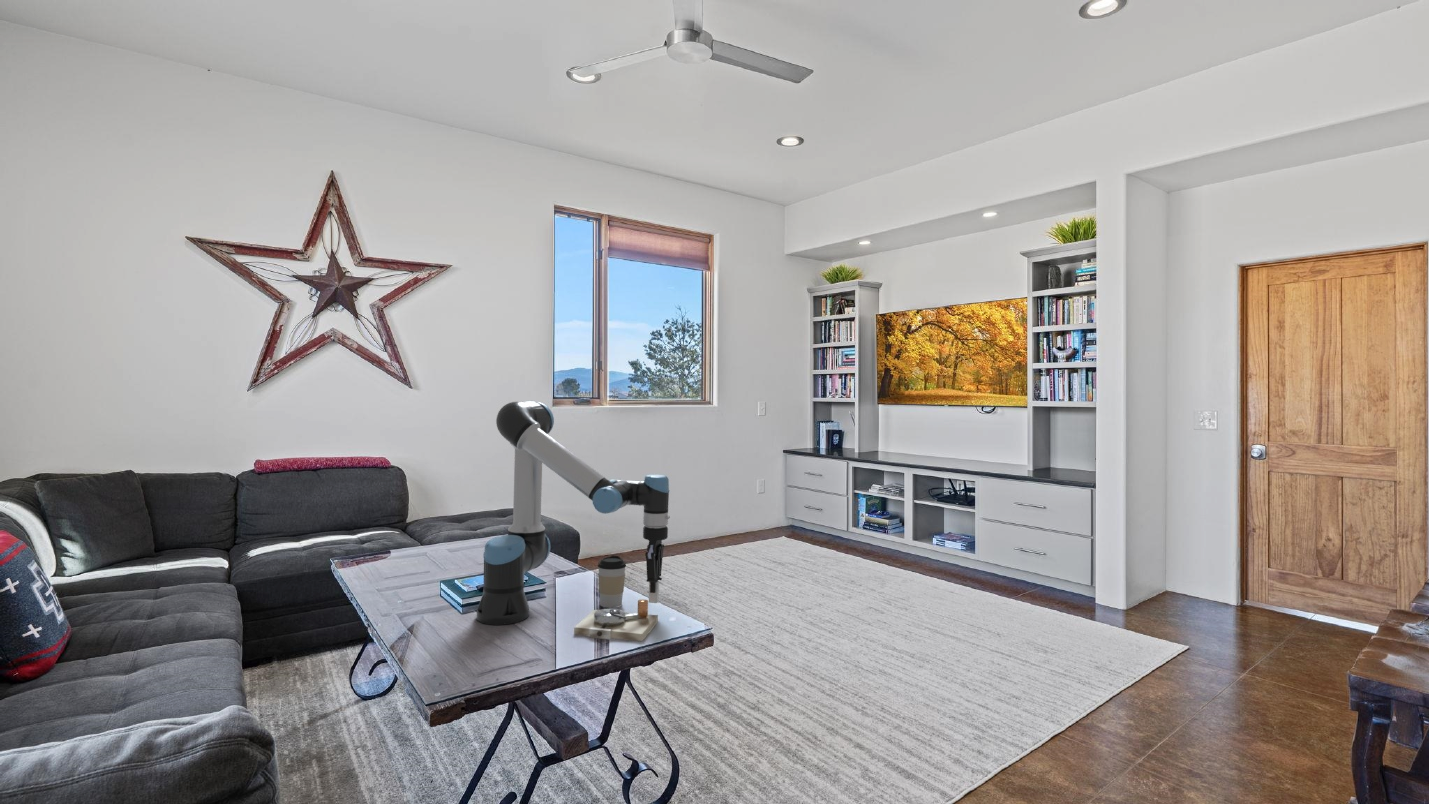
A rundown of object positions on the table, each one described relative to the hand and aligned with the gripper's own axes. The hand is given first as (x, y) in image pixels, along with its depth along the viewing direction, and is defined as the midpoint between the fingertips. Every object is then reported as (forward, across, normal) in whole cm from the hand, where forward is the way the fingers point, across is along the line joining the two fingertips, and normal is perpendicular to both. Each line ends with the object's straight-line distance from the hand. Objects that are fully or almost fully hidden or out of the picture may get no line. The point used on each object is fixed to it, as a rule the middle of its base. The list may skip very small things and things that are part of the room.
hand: (653, 602), depth 209 cm
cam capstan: (+2, -12, +6) cm, 14 cm away
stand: (+4, -12, +7) cm, 15 cm away
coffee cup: (+5, +8, +16) cm, 19 cm away
